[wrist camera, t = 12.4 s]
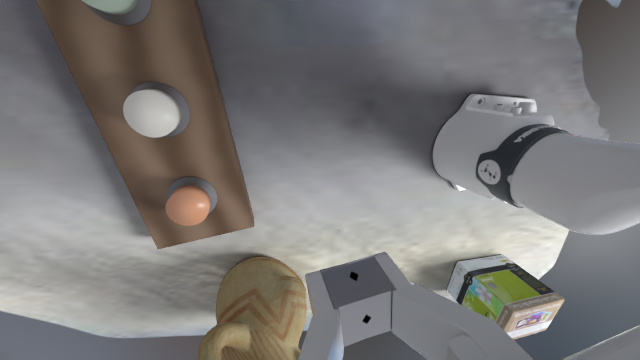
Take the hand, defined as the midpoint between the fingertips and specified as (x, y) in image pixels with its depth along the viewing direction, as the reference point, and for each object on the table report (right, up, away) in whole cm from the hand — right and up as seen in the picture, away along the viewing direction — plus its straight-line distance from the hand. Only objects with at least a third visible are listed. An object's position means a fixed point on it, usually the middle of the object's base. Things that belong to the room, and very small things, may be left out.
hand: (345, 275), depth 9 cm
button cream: (-20, +11, +20) cm, 30 cm away
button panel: (-21, +13, +23) cm, 34 cm away
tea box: (+39, -20, +56) cm, 71 cm away
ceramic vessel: (-13, -16, +39) cm, 43 cm away
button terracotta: (-18, 0, +25) cm, 31 cm away
